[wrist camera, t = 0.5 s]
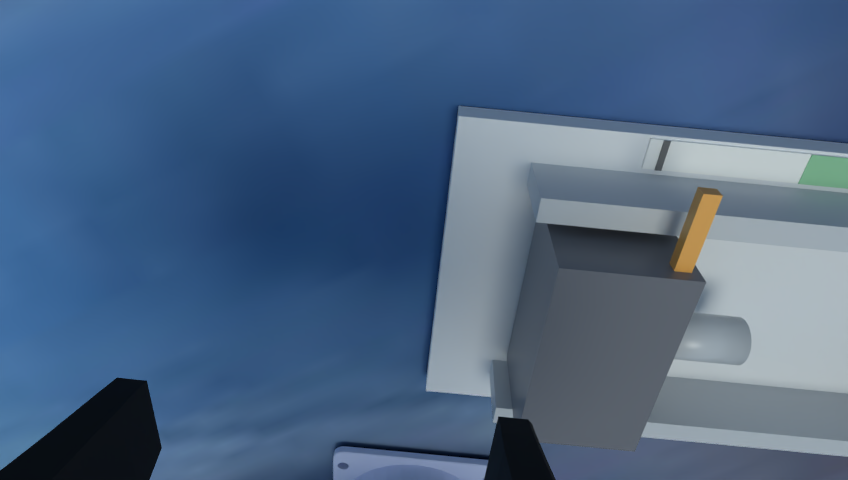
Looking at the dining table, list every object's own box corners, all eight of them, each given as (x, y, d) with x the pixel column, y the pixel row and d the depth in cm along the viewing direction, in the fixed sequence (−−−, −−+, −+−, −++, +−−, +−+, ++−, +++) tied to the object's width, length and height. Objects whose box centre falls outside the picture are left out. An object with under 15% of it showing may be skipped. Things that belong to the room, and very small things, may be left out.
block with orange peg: (682, 373, 22) (723, 460, 19) (506, 356, 22) (515, 440, 19) (781, 152, 18) (859, 215, 14) (555, 130, 18) (579, 188, 14)
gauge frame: (929, 421, 25) (1051, 559, 20) (426, 373, 25) (419, 498, 20) (1130, 170, 19) (1386, 277, 13) (458, 105, 19) (459, 187, 13)
